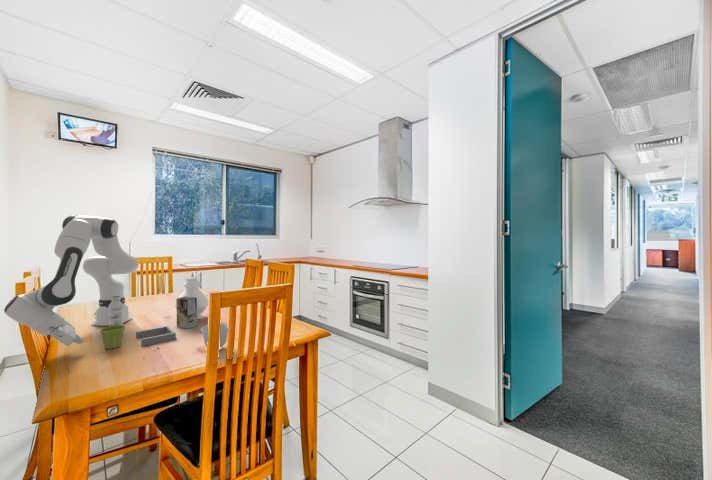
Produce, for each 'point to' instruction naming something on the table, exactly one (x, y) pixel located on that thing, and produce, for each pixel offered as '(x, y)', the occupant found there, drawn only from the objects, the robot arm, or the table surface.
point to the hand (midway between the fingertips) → (82, 342)
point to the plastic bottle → (115, 311)
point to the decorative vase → (195, 294)
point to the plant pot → (112, 336)
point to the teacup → (222, 334)
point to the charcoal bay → (156, 339)
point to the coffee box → (186, 312)
